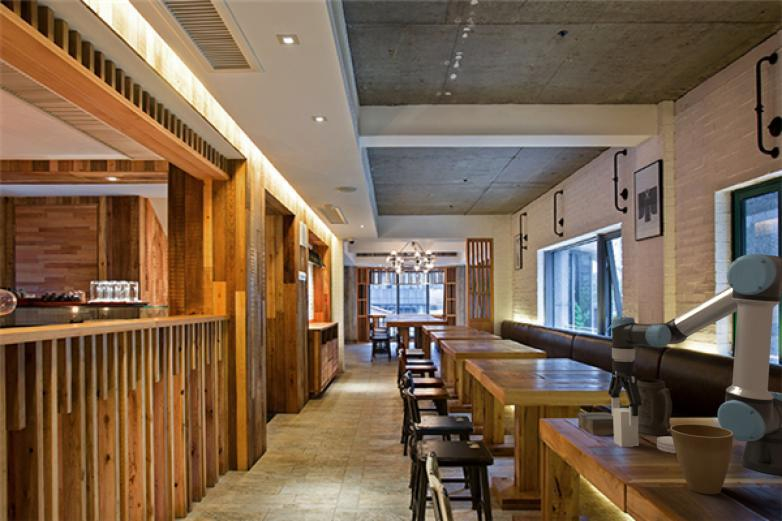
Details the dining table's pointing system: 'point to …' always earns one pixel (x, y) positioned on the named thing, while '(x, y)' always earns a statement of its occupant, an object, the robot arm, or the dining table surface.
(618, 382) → the robot arm
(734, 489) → the dining table surface
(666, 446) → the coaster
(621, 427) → the cream block
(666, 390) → the beer stein
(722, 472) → the plant pot
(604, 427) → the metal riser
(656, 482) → the dining table surface
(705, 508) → the dining table surface
